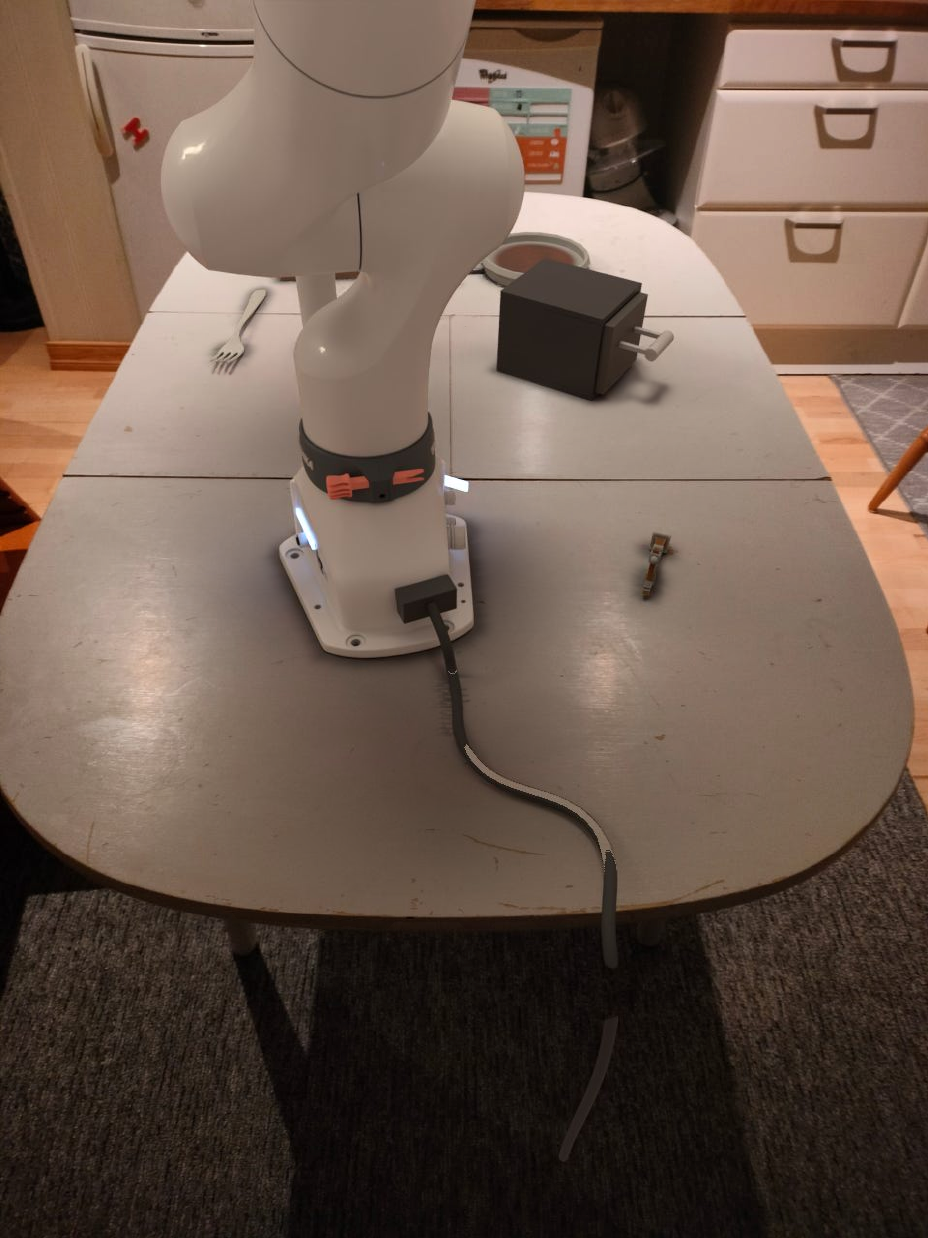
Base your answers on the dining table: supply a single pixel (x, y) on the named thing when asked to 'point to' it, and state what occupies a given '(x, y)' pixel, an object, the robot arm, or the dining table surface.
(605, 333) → the dark grey drawer
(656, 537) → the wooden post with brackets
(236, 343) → the fork
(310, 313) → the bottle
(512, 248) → the frying pan
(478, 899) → the dining table surface
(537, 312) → the drawer box
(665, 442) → the dining table surface
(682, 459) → the dining table surface
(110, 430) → the dining table surface
